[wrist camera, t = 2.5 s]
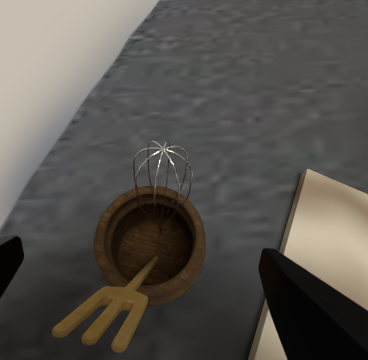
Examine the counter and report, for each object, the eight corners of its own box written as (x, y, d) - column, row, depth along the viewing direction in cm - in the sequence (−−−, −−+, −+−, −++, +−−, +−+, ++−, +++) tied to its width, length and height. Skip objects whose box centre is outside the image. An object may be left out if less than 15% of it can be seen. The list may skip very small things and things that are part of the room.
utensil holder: (203, 225, 18) (258, 124, 7) (187, 317, 15) (237, 382, 4) (130, 208, 18) (74, 87, 7) (101, 296, 15) (-60, 310, 4)
